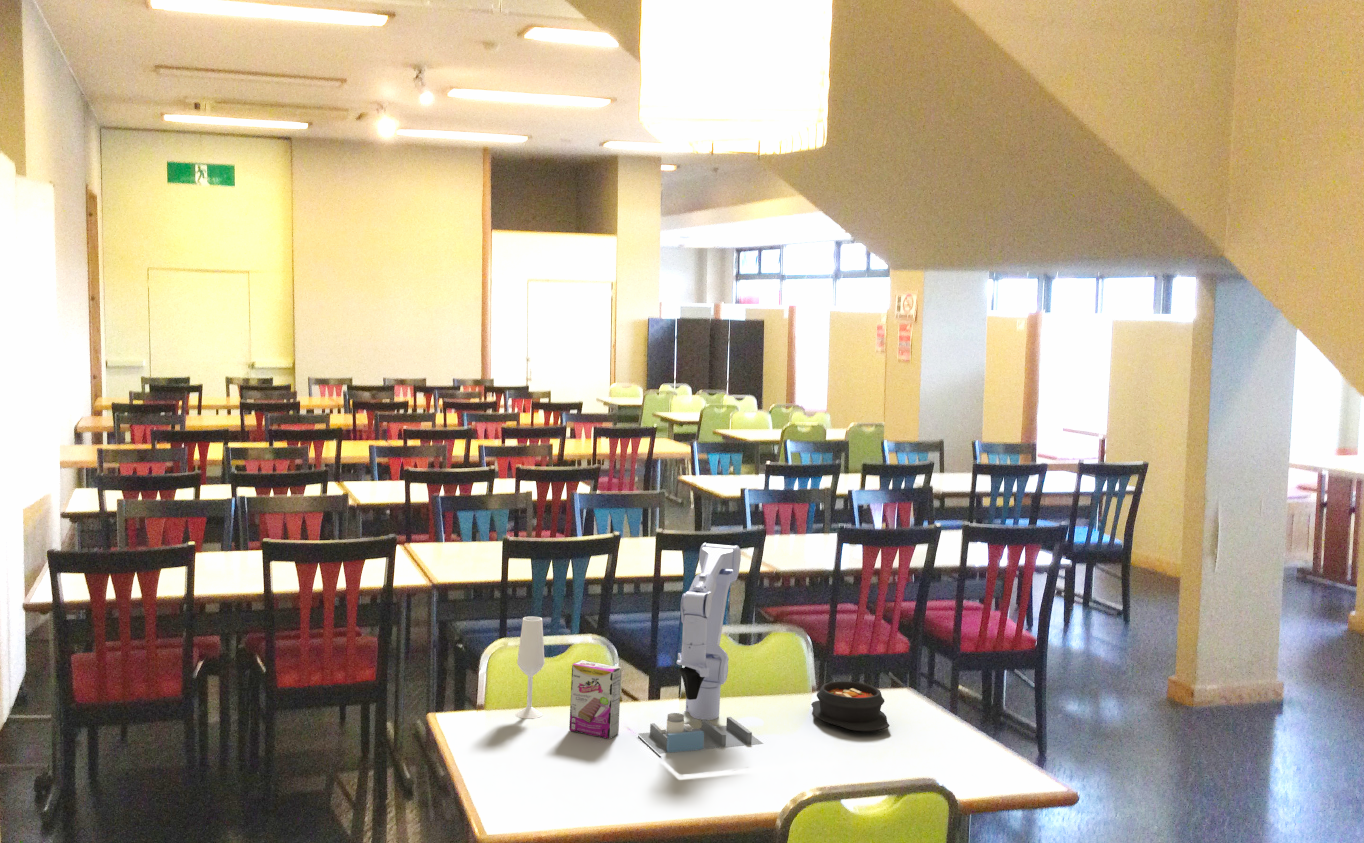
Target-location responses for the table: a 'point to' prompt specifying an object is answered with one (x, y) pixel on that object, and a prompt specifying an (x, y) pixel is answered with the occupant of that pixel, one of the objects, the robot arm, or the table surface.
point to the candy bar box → (595, 699)
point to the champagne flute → (531, 659)
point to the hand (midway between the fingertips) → (691, 698)
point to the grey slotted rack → (698, 737)
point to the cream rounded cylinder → (675, 723)
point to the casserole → (851, 706)
